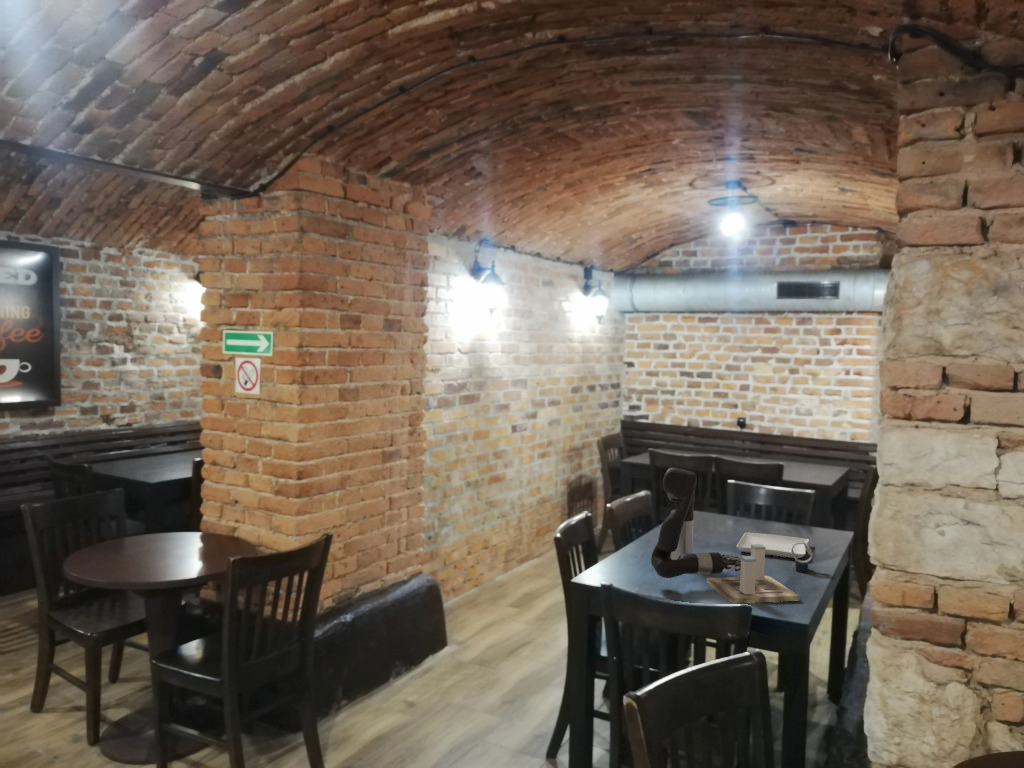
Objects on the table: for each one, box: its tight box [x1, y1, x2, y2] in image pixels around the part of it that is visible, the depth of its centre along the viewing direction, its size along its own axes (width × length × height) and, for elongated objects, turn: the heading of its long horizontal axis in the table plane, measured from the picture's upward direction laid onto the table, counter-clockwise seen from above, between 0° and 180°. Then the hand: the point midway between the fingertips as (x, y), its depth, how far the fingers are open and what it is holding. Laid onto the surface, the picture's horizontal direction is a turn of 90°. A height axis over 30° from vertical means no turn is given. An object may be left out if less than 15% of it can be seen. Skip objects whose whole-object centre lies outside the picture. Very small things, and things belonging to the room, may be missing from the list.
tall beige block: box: [750, 544, 766, 580], centre depth 276 cm, size 4×4×12 cm
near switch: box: [739, 555, 756, 594], centre depth 261 cm, size 4×4×12 cm
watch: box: [791, 541, 814, 573], centre depth 295 cm, size 6×8×11 cm
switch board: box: [706, 575, 800, 604], centre depth 269 cm, size 24×22×2 cm
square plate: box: [736, 531, 810, 559], centre depth 324 cm, size 27×27×4 cm
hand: (752, 562), depth 276 cm, fingers closed
